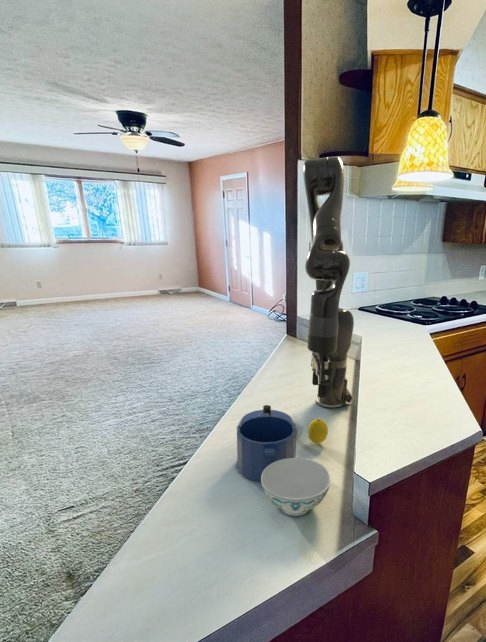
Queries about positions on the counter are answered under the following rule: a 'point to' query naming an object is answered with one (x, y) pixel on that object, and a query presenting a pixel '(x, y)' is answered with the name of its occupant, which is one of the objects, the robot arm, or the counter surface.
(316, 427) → the lemon
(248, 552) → the counter surface
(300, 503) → the chinaware
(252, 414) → the lid
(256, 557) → the counter surface
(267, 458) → the pot
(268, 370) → the counter surface
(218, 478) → the counter surface
